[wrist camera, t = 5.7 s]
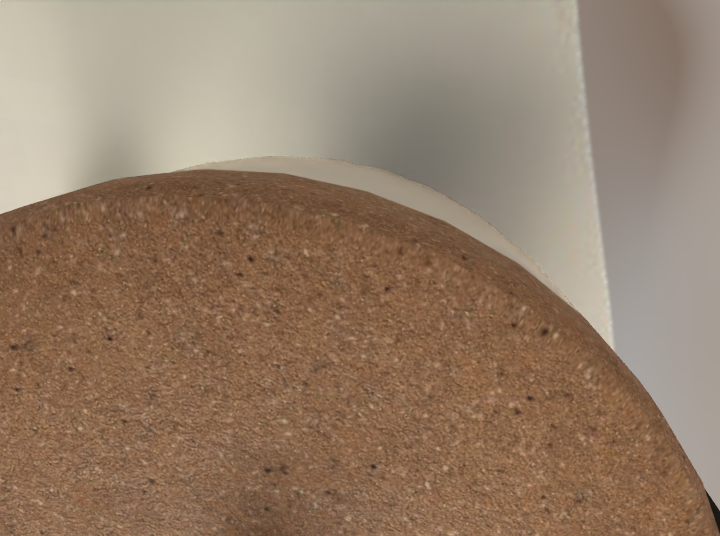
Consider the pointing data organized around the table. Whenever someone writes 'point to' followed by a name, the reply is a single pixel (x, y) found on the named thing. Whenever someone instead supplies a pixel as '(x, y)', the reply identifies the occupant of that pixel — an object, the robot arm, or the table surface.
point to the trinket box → (310, 369)
